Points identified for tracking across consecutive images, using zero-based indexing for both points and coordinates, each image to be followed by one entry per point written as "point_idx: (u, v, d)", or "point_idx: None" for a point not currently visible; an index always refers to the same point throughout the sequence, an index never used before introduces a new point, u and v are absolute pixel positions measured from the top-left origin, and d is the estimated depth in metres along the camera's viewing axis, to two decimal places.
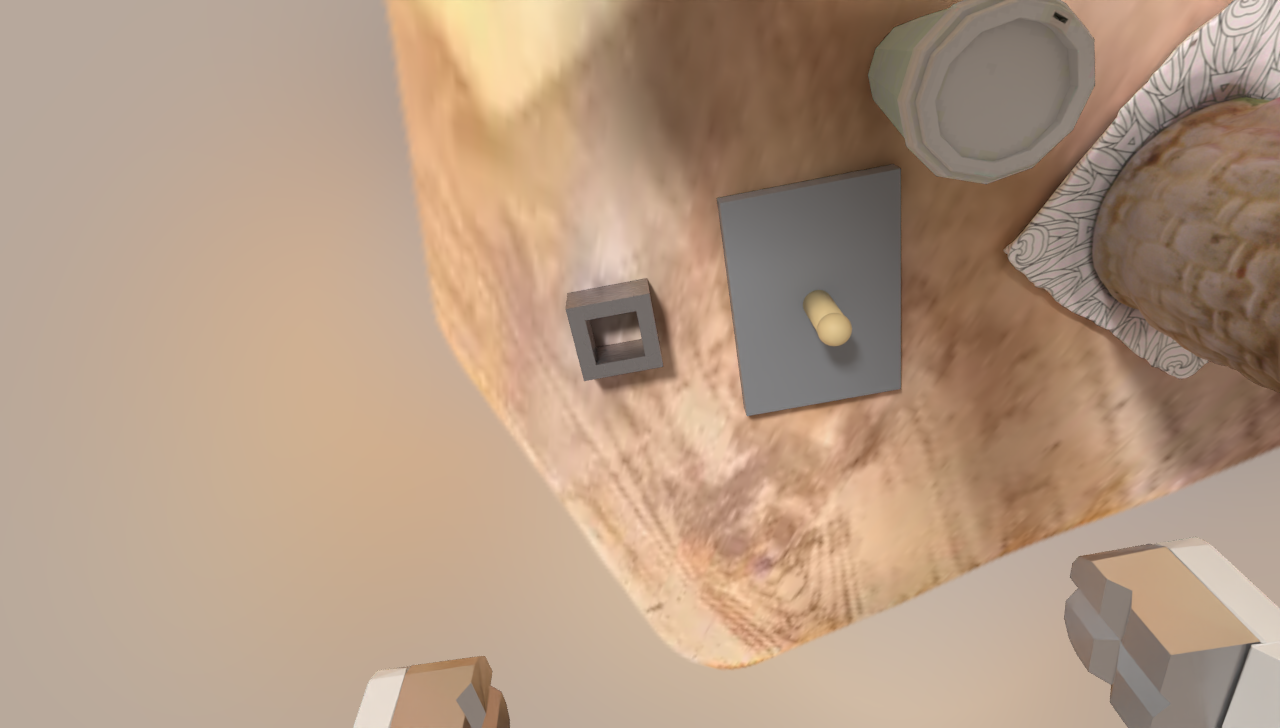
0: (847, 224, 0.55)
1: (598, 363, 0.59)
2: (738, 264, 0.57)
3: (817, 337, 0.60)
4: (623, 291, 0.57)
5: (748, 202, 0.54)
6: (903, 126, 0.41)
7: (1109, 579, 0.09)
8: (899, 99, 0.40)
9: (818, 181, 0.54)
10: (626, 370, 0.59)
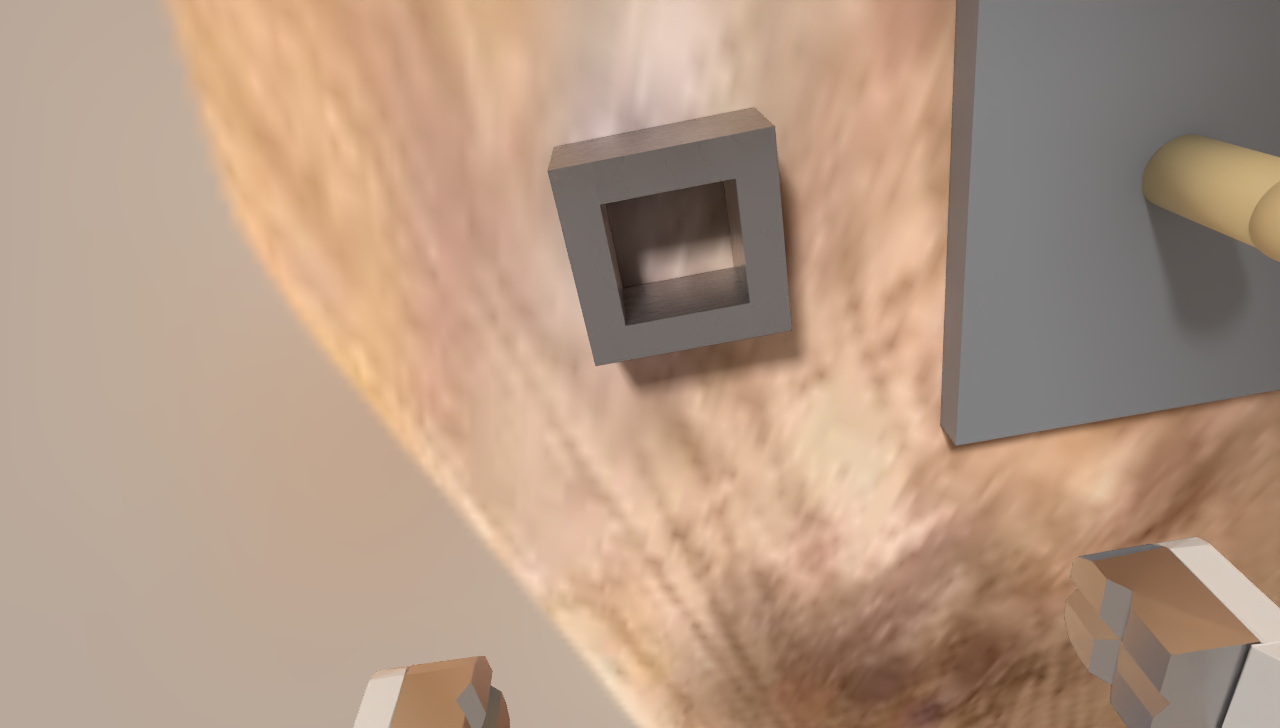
0: None
1: (631, 322, 0.24)
2: (1005, 56, 0.21)
3: (1156, 261, 0.25)
4: (699, 129, 0.22)
5: None
6: None
7: (1109, 579, 0.09)
8: None
9: None
10: (700, 340, 0.24)
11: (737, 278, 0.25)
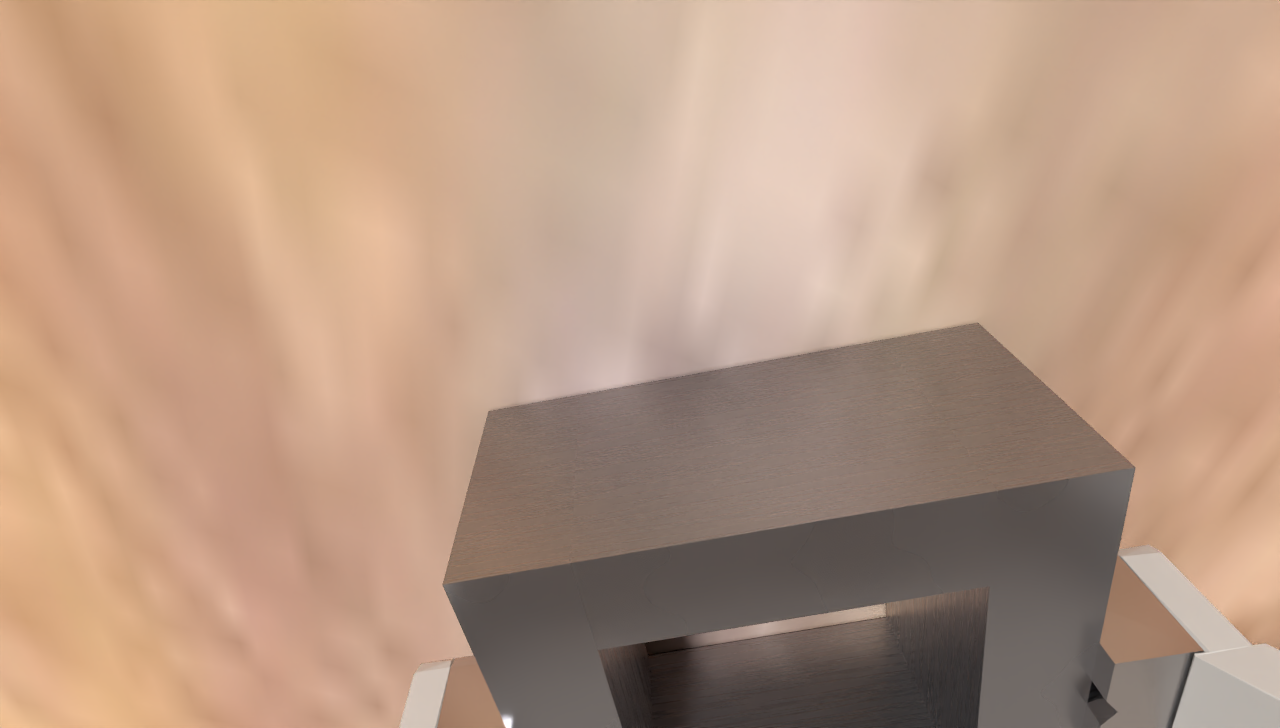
0: None
1: None
2: None
3: None
4: (867, 420, 0.08)
5: None
6: None
7: None
8: None
9: None
10: None
11: (905, 669, 0.11)
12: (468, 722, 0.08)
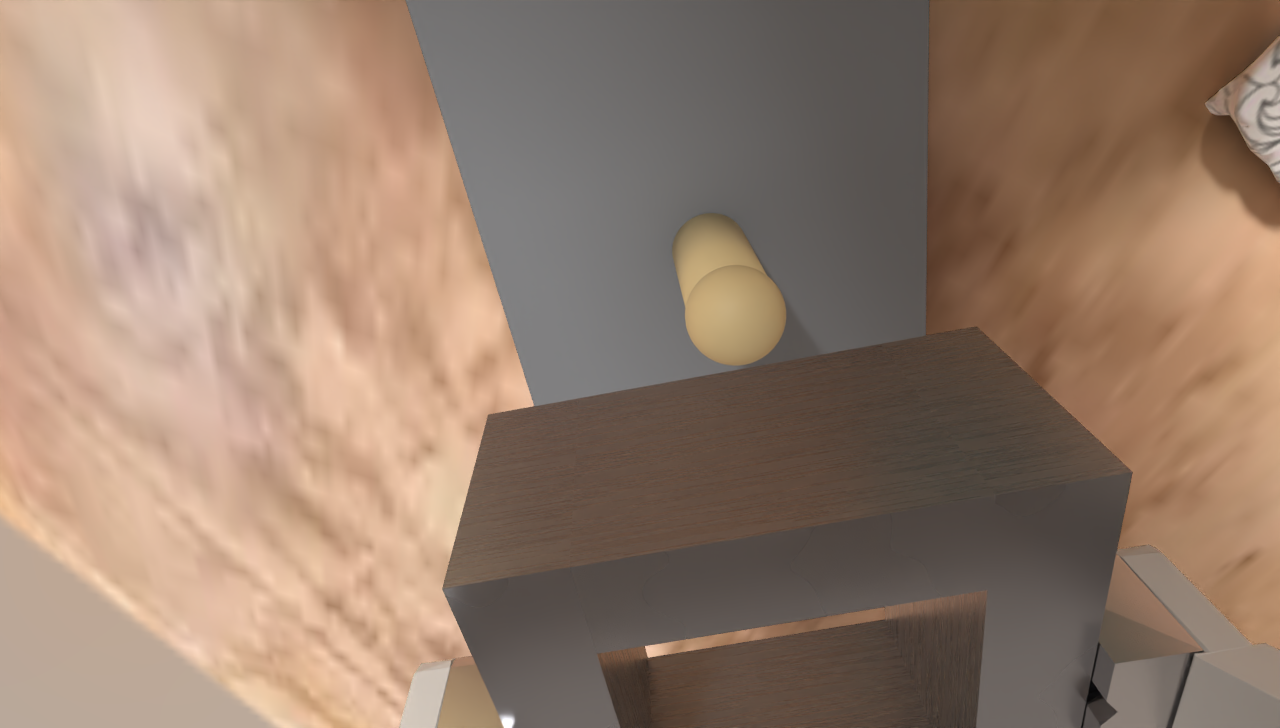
0: (776, 13, 0.19)
1: None
2: (481, 140, 0.21)
3: None
4: (865, 424, 0.08)
5: None
6: None
7: None
8: None
9: None
10: None
11: (904, 671, 0.11)
12: (468, 722, 0.08)
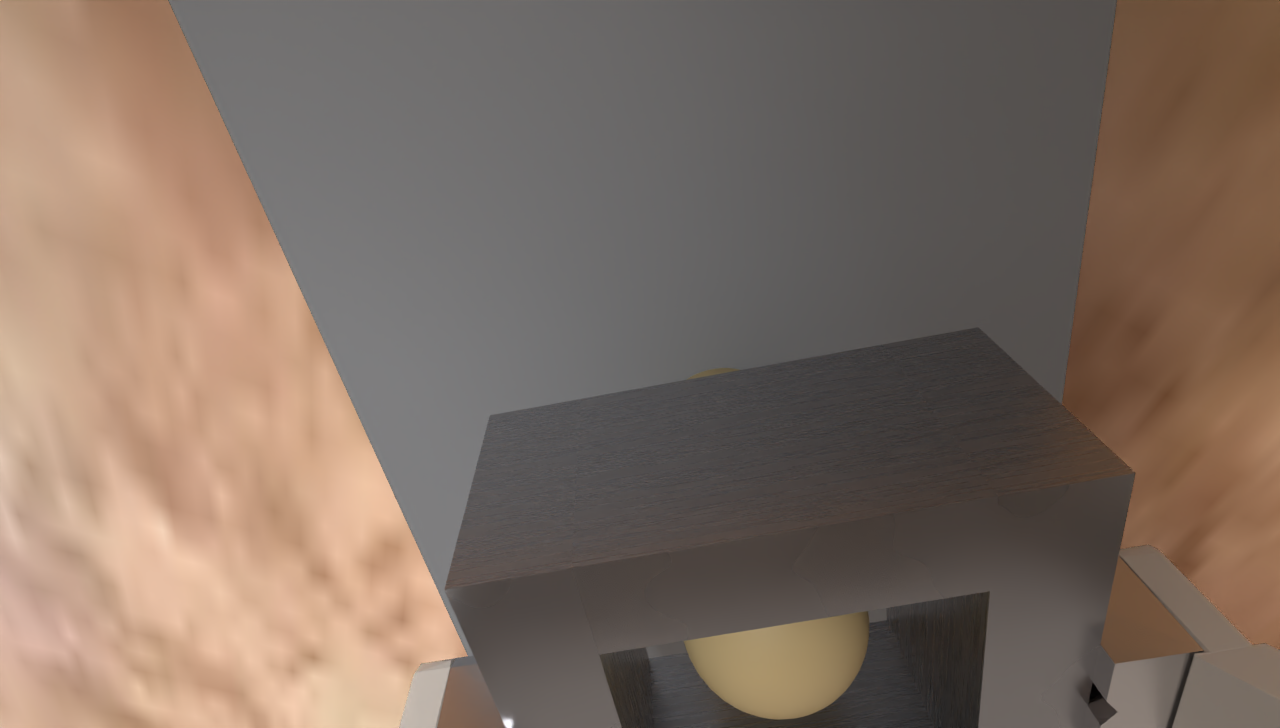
0: (844, 55, 0.11)
1: None
2: (339, 259, 0.12)
3: None
4: (867, 425, 0.08)
5: None
6: None
7: None
8: None
9: None
10: None
11: (906, 672, 0.11)
12: (468, 722, 0.08)
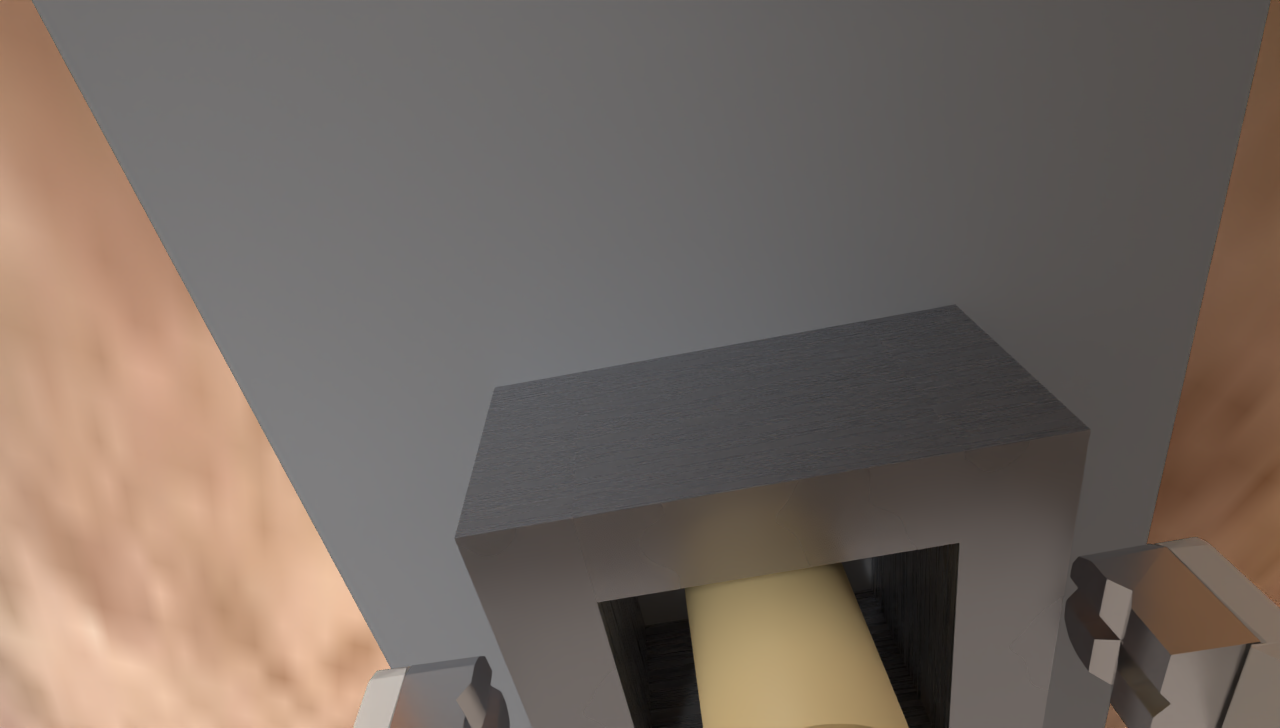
0: (915, 94, 0.09)
1: None
2: (281, 342, 0.10)
3: None
4: (849, 392, 0.09)
5: None
6: None
7: (1109, 579, 0.09)
8: None
9: None
10: None
11: (889, 636, 0.12)
12: None
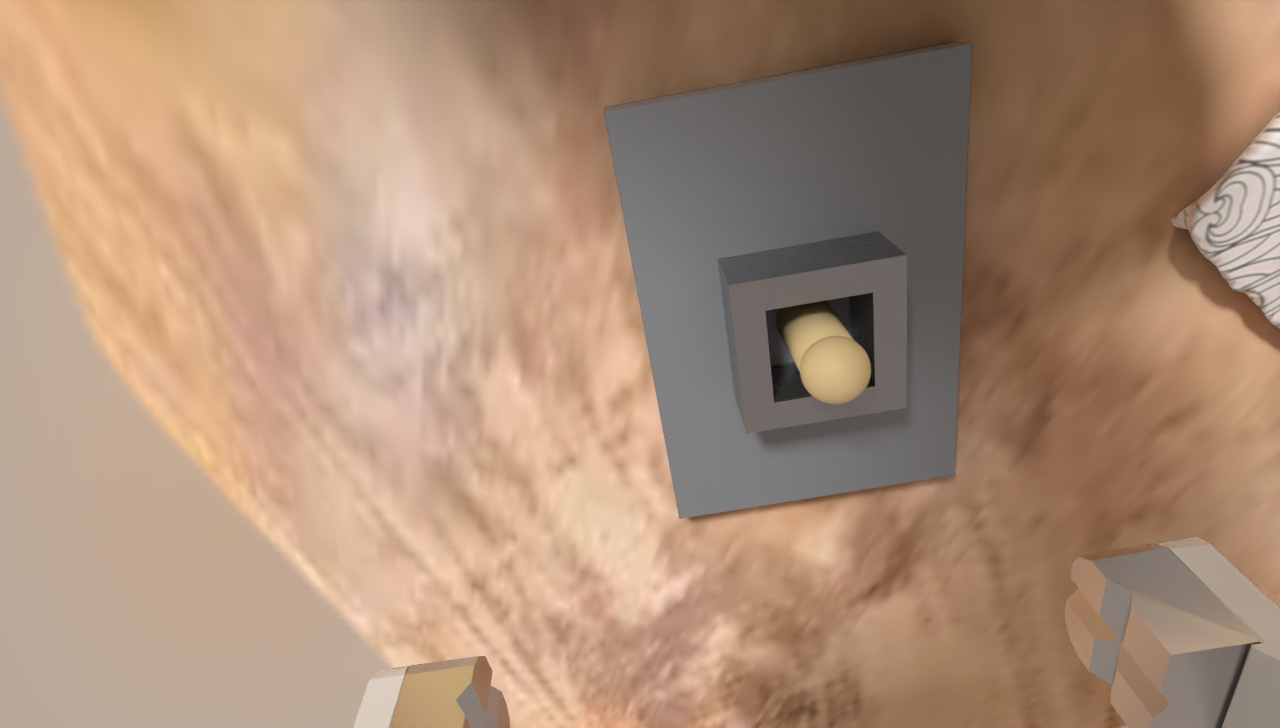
0: (862, 161, 0.28)
1: (777, 399, 0.29)
2: (649, 240, 0.29)
3: None
4: (841, 252, 0.28)
5: (663, 111, 0.27)
6: None
7: (1109, 579, 0.09)
8: None
9: (804, 72, 0.27)
10: (832, 414, 0.30)
11: None
12: None
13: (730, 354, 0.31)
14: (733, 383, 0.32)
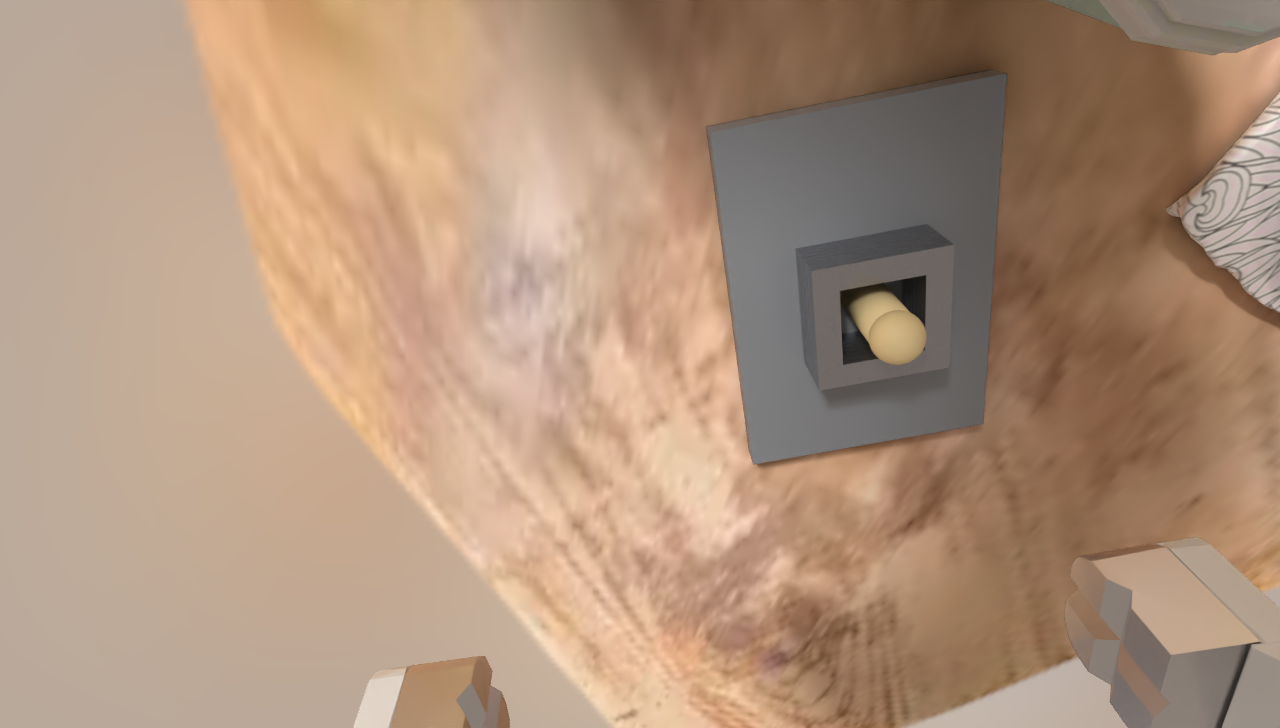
0: (915, 167, 0.35)
1: (845, 362, 0.36)
2: (740, 234, 0.36)
3: None
4: (899, 242, 0.35)
5: (757, 130, 0.33)
6: None
7: (1109, 579, 0.09)
8: None
9: (871, 97, 0.33)
10: (889, 374, 0.36)
11: None
12: None
13: (803, 326, 0.38)
14: (804, 350, 0.39)
